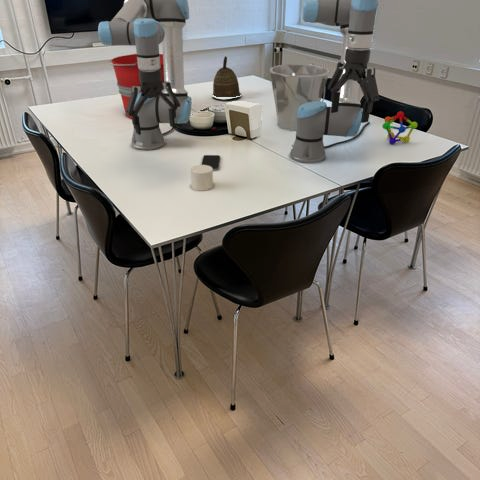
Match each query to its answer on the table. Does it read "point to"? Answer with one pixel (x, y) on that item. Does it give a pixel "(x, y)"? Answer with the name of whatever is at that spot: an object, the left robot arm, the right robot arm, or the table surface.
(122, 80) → the bucket
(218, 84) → the bell
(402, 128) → the educational toy
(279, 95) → the bucket
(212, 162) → the smartphone
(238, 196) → the table surface
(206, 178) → the canister
